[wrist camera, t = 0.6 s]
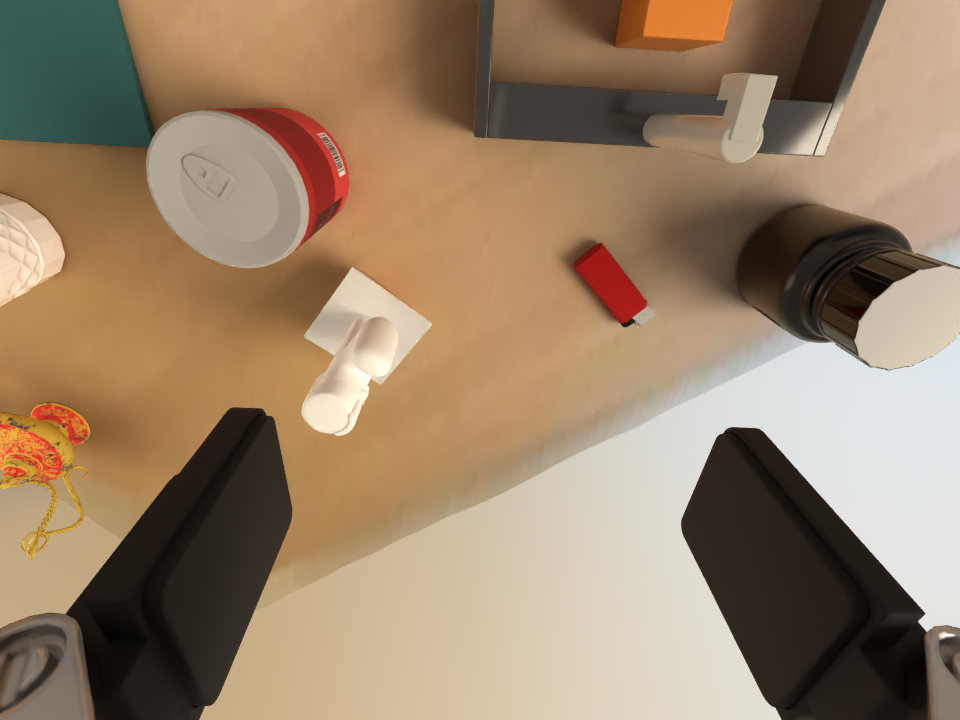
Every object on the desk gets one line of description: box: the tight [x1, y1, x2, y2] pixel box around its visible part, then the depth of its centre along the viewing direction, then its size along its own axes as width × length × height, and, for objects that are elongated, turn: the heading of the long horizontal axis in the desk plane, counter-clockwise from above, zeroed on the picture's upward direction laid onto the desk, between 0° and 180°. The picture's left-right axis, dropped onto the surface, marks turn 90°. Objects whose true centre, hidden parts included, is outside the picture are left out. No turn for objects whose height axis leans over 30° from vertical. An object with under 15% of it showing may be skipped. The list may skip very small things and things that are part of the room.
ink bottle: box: [737, 205, 960, 370], centre depth 32 cm, size 10×9×12 cm
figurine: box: [302, 267, 432, 436], centre depth 32 cm, size 7×9×15 cm
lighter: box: [573, 243, 655, 327], centre depth 37 cm, size 3×1×8 cm
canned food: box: [146, 108, 349, 268], centre depth 28 cm, size 8×8×11 cm
